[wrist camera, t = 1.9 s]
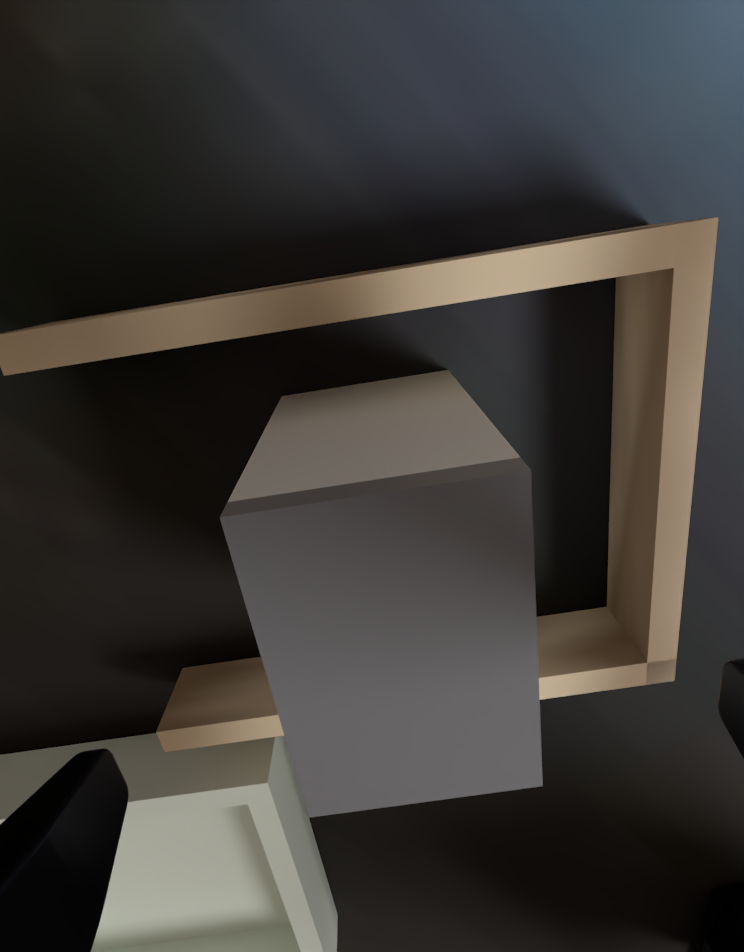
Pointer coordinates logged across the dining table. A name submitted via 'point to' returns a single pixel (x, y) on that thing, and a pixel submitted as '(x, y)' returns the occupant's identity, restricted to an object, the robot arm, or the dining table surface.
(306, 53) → the dining table surface
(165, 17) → the dining table surface
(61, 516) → the dining table surface
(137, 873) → the tray
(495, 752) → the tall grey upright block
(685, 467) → the frame
